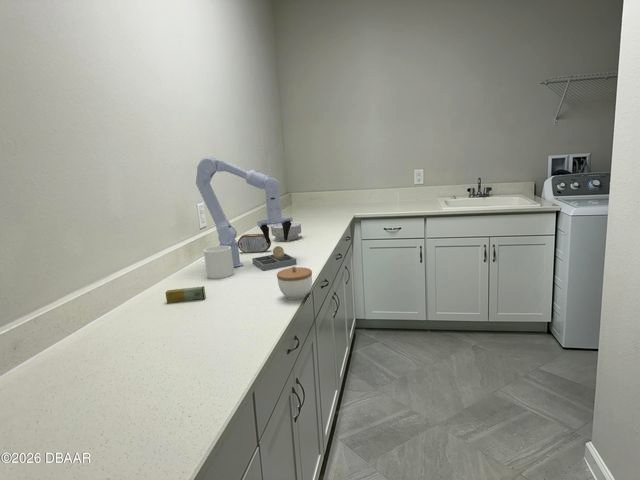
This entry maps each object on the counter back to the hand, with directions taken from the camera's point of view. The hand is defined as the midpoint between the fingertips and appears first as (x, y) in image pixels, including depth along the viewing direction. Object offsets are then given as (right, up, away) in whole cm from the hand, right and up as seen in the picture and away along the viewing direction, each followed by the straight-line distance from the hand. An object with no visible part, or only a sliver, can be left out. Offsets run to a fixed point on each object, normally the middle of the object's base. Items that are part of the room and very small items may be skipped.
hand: (277, 241), depth 174 cm
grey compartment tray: (-1, -9, -3) cm, 9 cm away
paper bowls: (+1, +1, +44) cm, 44 cm away
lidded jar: (+10, -17, -42) cm, 47 cm away
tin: (-12, -5, +21) cm, 24 cm away
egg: (+1, -8, +2) cm, 8 cm away
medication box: (-25, -19, -38) cm, 49 cm away
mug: (-20, -13, -11) cm, 26 cm away
